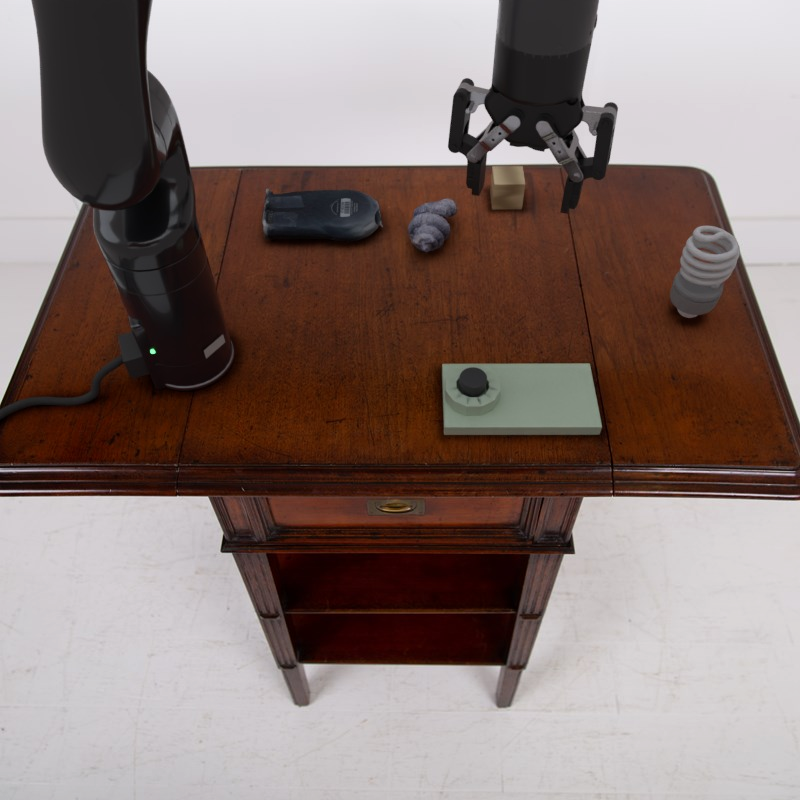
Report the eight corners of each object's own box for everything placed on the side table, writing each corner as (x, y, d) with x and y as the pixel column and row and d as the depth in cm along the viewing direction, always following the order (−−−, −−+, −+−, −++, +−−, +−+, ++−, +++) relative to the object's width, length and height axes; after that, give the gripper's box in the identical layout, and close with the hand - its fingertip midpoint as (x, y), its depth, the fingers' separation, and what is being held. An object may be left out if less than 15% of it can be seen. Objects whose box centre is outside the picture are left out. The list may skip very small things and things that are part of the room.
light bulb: (715, 306, 89) (751, 224, 80) (706, 338, 86) (742, 257, 76) (667, 293, 91) (696, 211, 81) (656, 324, 87) (685, 242, 78)
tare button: (459, 397, 78) (460, 387, 77) (458, 376, 79) (459, 366, 78) (486, 397, 78) (487, 387, 76) (485, 376, 79) (486, 366, 78)
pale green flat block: (443, 435, 78) (444, 417, 76) (441, 371, 83) (442, 353, 81) (599, 435, 78) (605, 417, 75) (587, 371, 83) (592, 353, 81)
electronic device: (268, 259, 97) (383, 242, 96) (256, 222, 94) (375, 203, 92) (275, 222, 104) (382, 205, 103) (264, 185, 100) (375, 167, 99)
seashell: (434, 220, 102) (422, 272, 96) (410, 192, 99) (395, 244, 93) (467, 204, 98) (456, 256, 93) (442, 174, 95) (429, 226, 90)
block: (491, 209, 101) (494, 184, 98) (490, 191, 103) (492, 166, 100) (521, 209, 101) (525, 184, 98) (519, 191, 103) (522, 165, 100)
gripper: (443, 36, 58) (438, 208, 71) (629, 65, 55) (589, 239, 68) (470, -6, 63) (460, 163, 76) (643, 19, 60) (603, 191, 73)
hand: (521, 199), depth 72 cm, fingers open, 8 cm apart
